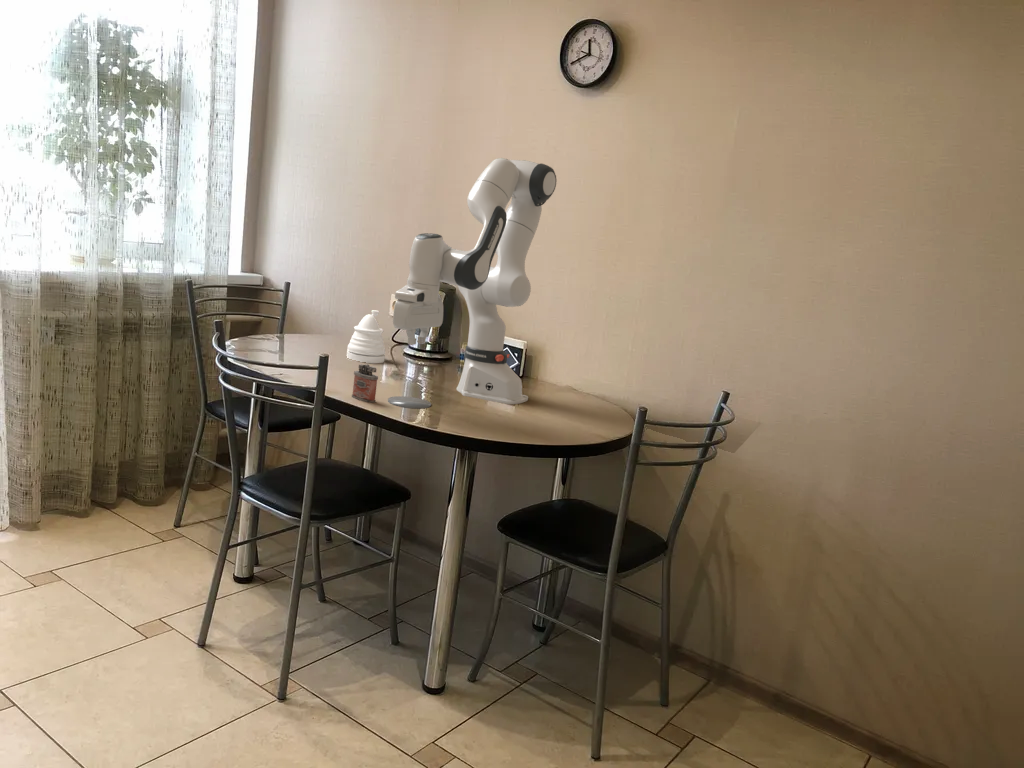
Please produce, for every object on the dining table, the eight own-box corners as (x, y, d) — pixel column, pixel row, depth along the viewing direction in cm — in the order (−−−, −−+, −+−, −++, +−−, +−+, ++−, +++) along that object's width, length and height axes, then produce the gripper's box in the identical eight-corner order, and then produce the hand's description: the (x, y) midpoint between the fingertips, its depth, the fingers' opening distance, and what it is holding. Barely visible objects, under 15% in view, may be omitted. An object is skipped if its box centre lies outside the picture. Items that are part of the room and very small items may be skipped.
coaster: (438, 406, 224) (439, 403, 224) (415, 412, 214) (416, 409, 213) (403, 397, 229) (403, 394, 229) (379, 402, 218) (379, 399, 218)
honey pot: (372, 358, 283) (377, 308, 280) (390, 366, 274) (396, 314, 270) (339, 358, 275) (344, 306, 271) (357, 366, 265) (363, 312, 262)
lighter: (348, 397, 219) (352, 362, 217) (357, 396, 222) (361, 361, 220) (369, 404, 215) (373, 368, 213) (378, 403, 218) (382, 367, 216)
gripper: (432, 291, 226) (426, 339, 229) (391, 292, 208) (385, 344, 210) (451, 295, 224) (445, 343, 226) (411, 296, 205) (405, 348, 208)
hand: (416, 343), depth 218 cm, fingers open, 3 cm apart
